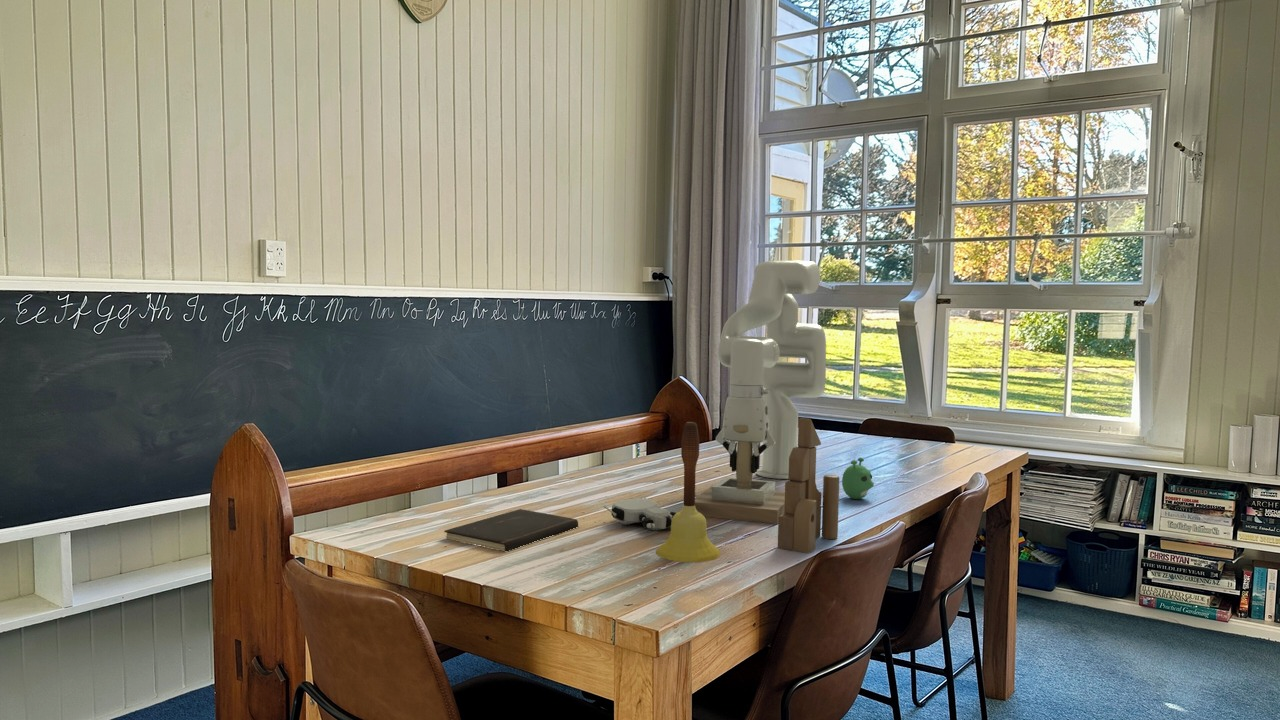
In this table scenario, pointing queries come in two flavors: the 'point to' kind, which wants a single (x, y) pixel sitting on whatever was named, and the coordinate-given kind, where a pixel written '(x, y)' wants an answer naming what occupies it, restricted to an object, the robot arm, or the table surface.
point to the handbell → (689, 512)
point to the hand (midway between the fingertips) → (744, 470)
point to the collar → (743, 491)
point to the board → (741, 508)
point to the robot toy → (641, 513)
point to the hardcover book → (511, 529)
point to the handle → (743, 460)
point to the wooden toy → (807, 497)
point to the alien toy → (857, 480)
